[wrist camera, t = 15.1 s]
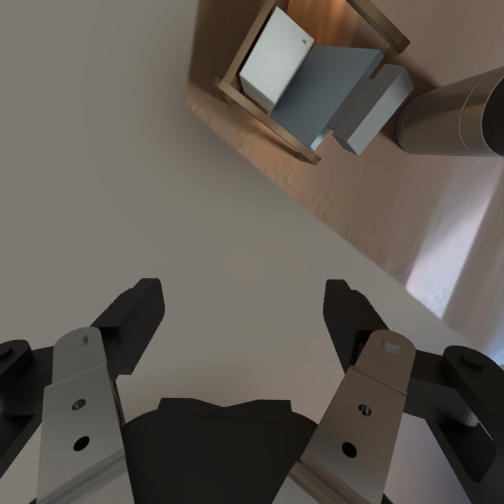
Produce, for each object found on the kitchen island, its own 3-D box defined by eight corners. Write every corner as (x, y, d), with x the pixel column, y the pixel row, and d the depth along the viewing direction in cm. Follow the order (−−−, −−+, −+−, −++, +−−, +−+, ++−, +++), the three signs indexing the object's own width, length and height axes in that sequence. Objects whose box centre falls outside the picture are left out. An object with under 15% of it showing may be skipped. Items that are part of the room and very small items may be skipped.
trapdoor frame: (359, 78, 38) (410, 42, 25) (299, 160, 43) (316, 165, 30) (282, 5, 35) (295, -77, 22) (226, 103, 40) (211, 81, 27)
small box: (272, 40, 37) (277, 1, 27) (301, 66, 38) (316, 38, 28) (242, 92, 40) (237, 73, 30) (270, 114, 41) (274, 104, 31)
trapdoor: (430, 68, 25) (422, 44, 23) (346, 170, 29) (333, 158, 27) (322, 55, 37) (310, 39, 35) (273, 128, 41) (261, 117, 39)
